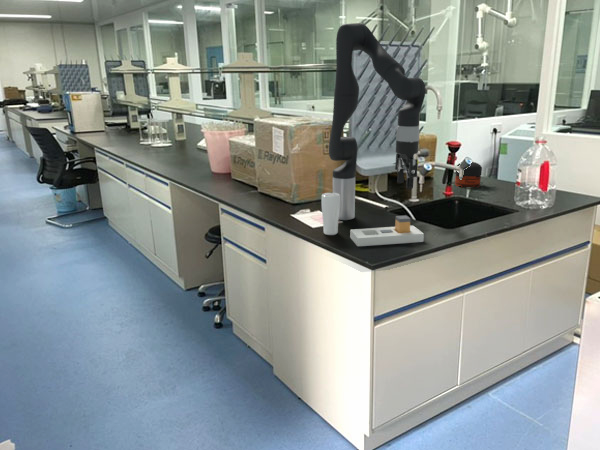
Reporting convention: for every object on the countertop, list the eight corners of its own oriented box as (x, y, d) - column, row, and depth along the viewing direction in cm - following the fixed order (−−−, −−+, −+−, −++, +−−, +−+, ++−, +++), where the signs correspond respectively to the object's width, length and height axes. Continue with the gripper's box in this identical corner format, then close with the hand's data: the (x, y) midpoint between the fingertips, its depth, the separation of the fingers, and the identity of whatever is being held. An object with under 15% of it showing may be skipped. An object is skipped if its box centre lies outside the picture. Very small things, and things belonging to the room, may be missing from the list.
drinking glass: (338, 230, 182) (338, 192, 178) (340, 236, 176) (340, 196, 172) (320, 230, 182) (320, 192, 178) (322, 236, 176) (322, 197, 171)
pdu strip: (350, 237, 174) (350, 228, 173) (412, 233, 178) (413, 224, 177) (357, 246, 165) (357, 237, 164) (423, 241, 168) (423, 232, 167)
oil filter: (470, 182, 261) (449, 184, 258) (472, 159, 258) (451, 161, 254) (485, 186, 249) (464, 188, 246) (487, 163, 246) (466, 165, 242)
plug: (394, 237, 174) (395, 216, 172) (405, 236, 175) (406, 215, 172) (398, 240, 170) (399, 219, 168) (409, 239, 171) (410, 218, 168)
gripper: (389, 137, 168) (387, 182, 173) (404, 142, 154) (402, 191, 159) (410, 136, 169) (407, 181, 174) (426, 141, 156) (423, 189, 161)
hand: (404, 185), depth 167 cm, fingers open, 8 cm apart
